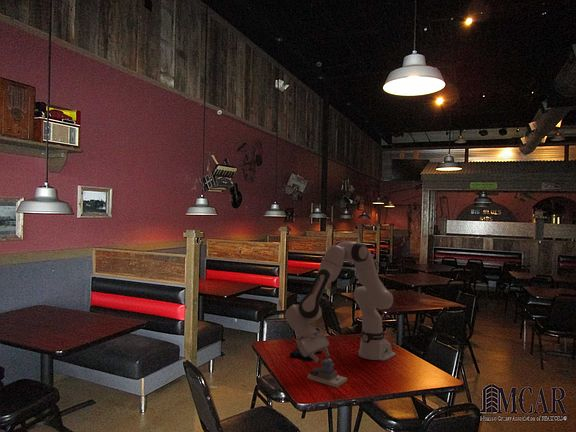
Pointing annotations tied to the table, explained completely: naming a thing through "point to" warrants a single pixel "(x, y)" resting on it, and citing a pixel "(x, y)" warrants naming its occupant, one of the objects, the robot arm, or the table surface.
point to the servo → (327, 366)
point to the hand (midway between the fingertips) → (323, 359)
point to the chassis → (326, 377)
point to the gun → (299, 355)
